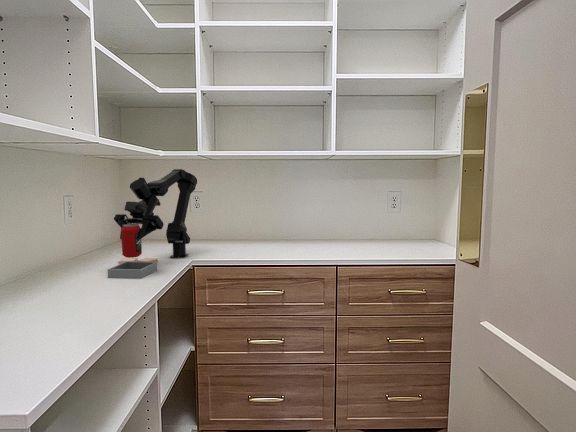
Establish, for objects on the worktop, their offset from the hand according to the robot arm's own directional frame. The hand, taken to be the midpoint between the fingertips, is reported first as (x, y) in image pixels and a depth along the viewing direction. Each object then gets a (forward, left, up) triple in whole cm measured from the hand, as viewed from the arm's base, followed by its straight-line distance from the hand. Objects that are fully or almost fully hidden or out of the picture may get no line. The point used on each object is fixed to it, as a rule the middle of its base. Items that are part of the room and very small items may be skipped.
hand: (129, 239), depth 136 cm
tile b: (-20, -3, -13) cm, 24 cm away
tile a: (-19, -11, -13) cm, 26 cm away
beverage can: (-1, 0, -7) cm, 7 cm away
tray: (-1, +1, -13) cm, 13 cm away
